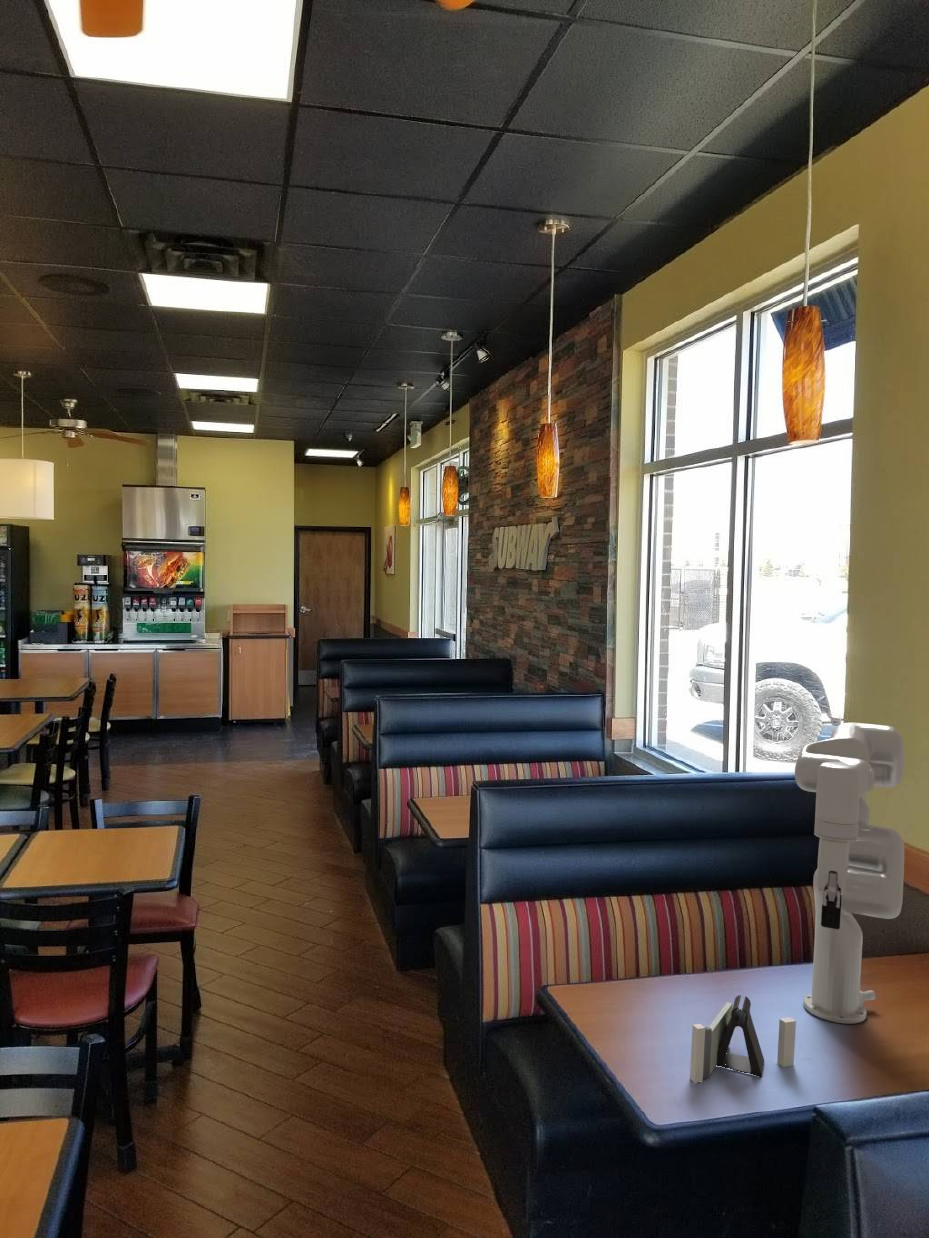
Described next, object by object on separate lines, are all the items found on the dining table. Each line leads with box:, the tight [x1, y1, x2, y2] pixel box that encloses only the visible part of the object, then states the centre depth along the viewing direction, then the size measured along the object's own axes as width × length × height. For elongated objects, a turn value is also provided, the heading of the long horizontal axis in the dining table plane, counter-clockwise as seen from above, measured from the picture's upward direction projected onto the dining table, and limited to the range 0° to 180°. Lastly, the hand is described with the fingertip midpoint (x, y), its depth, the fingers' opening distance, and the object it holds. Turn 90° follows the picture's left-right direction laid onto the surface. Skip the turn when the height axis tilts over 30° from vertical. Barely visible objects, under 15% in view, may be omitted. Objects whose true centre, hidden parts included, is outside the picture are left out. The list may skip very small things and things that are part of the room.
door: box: [703, 1001, 733, 1080], centre depth 169 cm, size 16×1×9 cm, turn 148°
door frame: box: [689, 1016, 797, 1084], centre depth 165 cm, size 22×2×10 cm, turn 111°
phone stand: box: [716, 994, 765, 1078], centre depth 168 cm, size 9×6×12 cm, turn 67°
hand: (831, 919), depth 168 cm, fingers open, 9 cm apart
